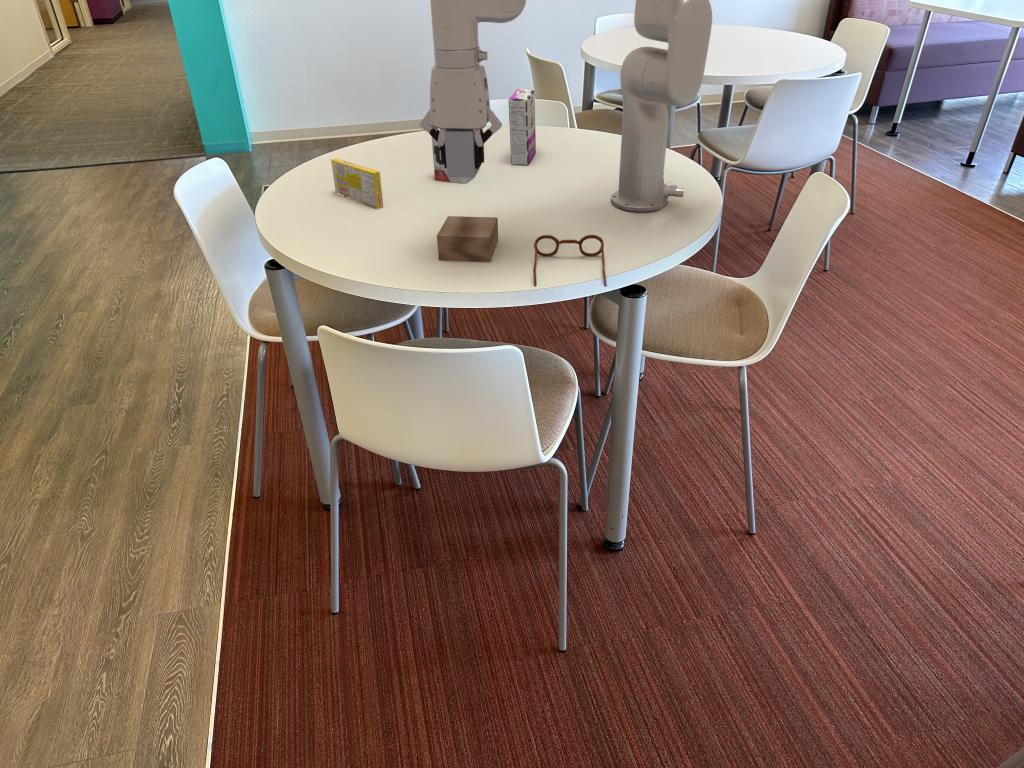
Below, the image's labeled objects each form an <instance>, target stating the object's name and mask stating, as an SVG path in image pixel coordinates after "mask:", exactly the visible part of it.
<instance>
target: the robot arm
mask: <svg viewBox="0 0 1024 768" xmlns="http://www.w3.org/2000/svg"><path fill="white" fill-rule="evenodd" d="M429 3H430V12H431V15H430V16H431V27H432V40H433V53H434V66H432V68H431V73H430V83H429V85H430V86H429V110H428V111H427V112H426V114H425V115H424V117H423V118H422V120H421V121H420V123H419V126H420V128H422V129H423V131H425V132H426V133H427V134H429V135H430V137H431V138H432V137H433V138H434V139H435V140H436V141H437V142H438V145H440V150H441V161H442V162H444V167H445V168H447V164H446V150H445V136H444V132H445V130H447V129H458V130H472V131H473V132H474V138H475V141H476V143H475V147H474V155H475V168H476V169H479V170H480V168H481V166H482V164H484V163H485V143H486V142H487V141H488V140H489V139H490V138H491V137H492V136H493V135H494V134H496V133H497V132H498V131H499V130H500V129H501V128H502V127H503V123H502V122H501V120H500V119H499V118H498V116H497V114H495V113H494V112H493V110H492V109H491V105H490V104H491V101H490V92H489V84H488V78H487V73H486V67H485V66H484V65H482V64H481V62H483V61H488V58H489V57H488V56H489V55H488V51H484V50H481V48H480V44H479V24H480V23H494V24H505V23H509V22H513V21H514V20H516V19H517V18H518V17H519V16H520V15H521V14H522V12H523V11H524V9H525V6H526V4H527V0H430V2H429ZM633 15H634V16H633V21H634V23H633V24H634V29H635V31H636V32H637V34H638V35H640V36H641V37H642V38H645V39H647V40H652V41H657V42H660V43H661V42H662V43H667V44H668V45H667V49H665V48H660V47H659V48H658V47H654V46H641V47H638V48H636V49H635V48H634V49H633V50H632V51H630V52H629V53H628V54H627V55H626V57H625V58H624V60H623V62H622V64H621V67H620V75H619V78H620V79H619V80H620V89H621V97H622V126H621V127H622V128H621V129H622V130H621V142H620V157H619V159H620V161H619V173H618V175H619V176H618V190H616V191H615V192H613V193H612V194H611V197H610V203H611V204H612V205H613V206H614V207H616V208H618V209H621V210H624V211H630V212H635V213H636V212H637V213H639V212H642V213H643V212H644V213H645V212H654V211H659V210H661V209H663V208H665V207H667V206H668V204H669V197H674V198H684V191H685V190H684V187H678V185H675V184H674V185H673V184H672V185H668V184H666V183H665V178H664V173H665V164H666V163H665V162H666V152H667V141H668V132H669V111H668V106H670V107H675V108H676V107H685V106H687V105H689V104H691V102H692V101H694V100H695V98H696V97H697V95H698V93H699V92H700V89H701V86H702V83H703V79H704V74H705V69H706V64H707V58H708V51H709V44H710V38H711V33H712V27H713V10H712V5H711V2H710V0H635V6H634V14H633ZM480 64H481V65H480ZM488 123H490V125H491V126H489V128H487V129H486V130H485V131H484V128H486V127H487V124H488ZM438 129H440V131H439V130H438Z"/></svg>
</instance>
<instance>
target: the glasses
mask: <svg viewBox="0 0 1024 768" xmlns="http://www.w3.org/2000/svg"><path fill="white" fill-rule="evenodd" d="M544 239H548V240H552V241H554V243H555V244H556V245H555V249H554V250H553V251H552V252H549V253H548V252H541V251H540V250H539V247H538V244H539V242H541V240H544ZM589 239H594V240H596V241H599V242H600V248H599V250H597V251H595V252H593V253H592V252H586V251H585V250H583V243H584V242H585V241H586V240H589ZM562 244H575V245H576V244H577V245H578V249H579V251H580V254H582V255H583V256H585V257H588V258H589V257H590V258H592V257H597V256H599V255H600V254H601V263H602V264H601V266H602V277H603V284H604V287H607V285H608V284H607V277H606V271H605V267H606V266H605V250H604V247H605V244H604V240H603V238H602V237H601V236H600V235H599V236H598V235H597V234H588V235H585V236H583V237H581V238H580V239H579V240H577V239H561V240H559V239H558V238H557V237H555V236H554V235H550V234H542V235H540V236H538V237H536V239H535V241H534V245H533V247H534V263H533V268H532V273H533V286H534V287H537V285H538V284H537V264H538V263H537V261H538V260H537V259H538V255H539V256H540V257H544V258H545V257H546V258H547V257H549V258H550V257H553V256H555V255H556V254H557V253H558V251H559V247H560V245H562Z"/></svg>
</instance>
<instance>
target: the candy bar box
mask: <svg viewBox="0 0 1024 768" xmlns="http://www.w3.org/2000/svg"><path fill="white" fill-rule="evenodd" d="M535 90H536V89H535V88H517V89H516V90H515V91H514V92H513V93H512V95H511V96H510V97H509V99H508V117H509V118H508V119H509V121H508V122H509V139H510V140H509V142H510V146H509V147H510V164H511V166H530V164H531V162H532V160H533V158H534V157H535V155H536V153H537V147H536V145H537V140H536V100H535V99H536V96H535V95H536V94H535Z"/></svg>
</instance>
